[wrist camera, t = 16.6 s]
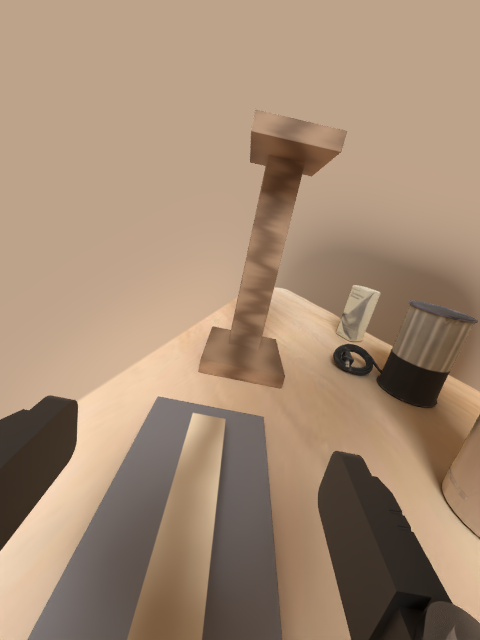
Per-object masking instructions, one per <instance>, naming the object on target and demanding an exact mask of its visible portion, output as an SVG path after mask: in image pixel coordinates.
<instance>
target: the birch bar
mask: <svg viewBox="0 0 480 640" xmlns="http://www.w3.org/2000/svg"><path fill="white" fill-rule="evenodd" d="M225 420H226V419H223V418H218V417H212V416H207V415H202V414H197V413H193V414H192V417H191V421H190V424H189V428H188V431H187V435H186V438H185V441H184V445H183V448H182V452H181V455H180V459H179V462H178V466H177V469H176V472H175V476H174V479H173V483H172V486H171V490H170V493H169V497H168V500H167V504H166V507H165V510H164V514H163V517H162V521H161V524H160V528H159V531H158V535H157V538H156V541H155V545H154V548H153V552H152V555H151V559H150V562H149V566H148V569H147V572H146V576H145V579H144V583H143V586H142V590H141V593H140V597H139V600H138V604H137V607H136V610H135V614H134V617H133V621H132V624H131V628H130V631H129V635H128V638H127V640H202V634H203V625H204V615H205V606H206V597H207V587H208V578H209V569H210V560H211V550H212V541H213V532H214V523H215V513H216V504H217V495H218V485H219V476H220V467H221V458H222V448H223V439H224V430H225Z"/></svg>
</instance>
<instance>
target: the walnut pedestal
mask: <svg viewBox="0 0 480 640" xmlns="http://www.w3.org/2000/svg"><path fill="white" fill-rule="evenodd" d="M346 133H347V131H345V130H340V129H336V128H331V127H328V126H323V125H319V124H314V123H311V122H306V121H302V120H298V119H294V118H289V117H285V116H281V115H276V114H272V113H268V112H264V111H259V110H255V114H254V120H253V125H252V130H251V154H250V162H251V163H255V164H260V165H264V166H266V168H265V172H264V177H263V182H262V186H261V191H260V196H259V201H258V205H257V210H256V215H255V220H254V224H253V229H252V234H251V239H250V244H249V248H248V253H247V258H246V262H245V267H244V272H243V276H242V281H241V286H240V291H239V295H238V300H237V305H236V310H235V314H234V319H233V324H232V329H231V330H228V329H223V328H218V327H212V329H211V332H210V335H209V338H208V340H207V343H206V346H205V349H204V351H203V354H202V357H201V360H200V365H199V371H198V372H201V373H206V374H211V375H216V376H221V377H226V378H231V379H237V380H242V381H247V382H252V383H257V384H262V385H267V386H272V387H277V388H282V384H283V381H284V377H285V375H284V371H283V367H282V363H281V359H280V355H279V351H278V347H277V343H276V339H272V338H267V337H262V334H263V330H264V326H265V322H266V318H267V314H268V310H269V306H270V301H271V297H272V293H273V289H274V285H275V281H276V277H277V273H278V269H279V265H280V261H281V257H282V253H283V249H284V245H285V241H286V237H287V233H288V229H289V225H290V221H291V217H292V213H293V209H294V205H295V201H296V197H297V193H298V188H299V184H300V180H301V177H302V174H304V175H308V176H313V175H314V174H315V173H316V172H318V171H319V170H320V169H321V168H322V167H324V166H325V165H326V164H327V163H328V162H329V161H331V160H332V159H333V158H334V157H336V156H337V155H338V154H339V153H340V152H341V151H342V147H343V144H344V140H345V137H346Z"/></svg>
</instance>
